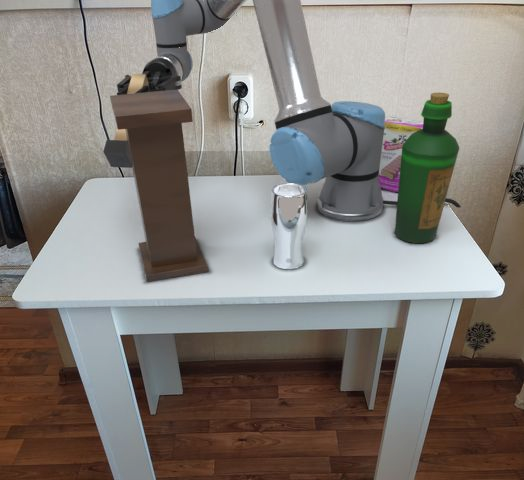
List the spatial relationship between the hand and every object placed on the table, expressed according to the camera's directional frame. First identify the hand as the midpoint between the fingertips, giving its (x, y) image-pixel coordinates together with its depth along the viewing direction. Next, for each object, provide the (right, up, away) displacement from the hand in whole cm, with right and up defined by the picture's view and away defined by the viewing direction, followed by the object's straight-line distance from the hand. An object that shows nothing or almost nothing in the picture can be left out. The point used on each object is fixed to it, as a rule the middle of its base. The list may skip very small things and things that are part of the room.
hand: (128, 100), depth 105 cm
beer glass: (+33, -33, -1) cm, 47 cm away
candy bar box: (+61, -10, +27) cm, 67 cm away
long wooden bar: (0, -4, +3) cm, 5 cm away
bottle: (+60, -26, +7) cm, 66 cm away
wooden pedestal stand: (+9, -32, +1) cm, 34 cm away
